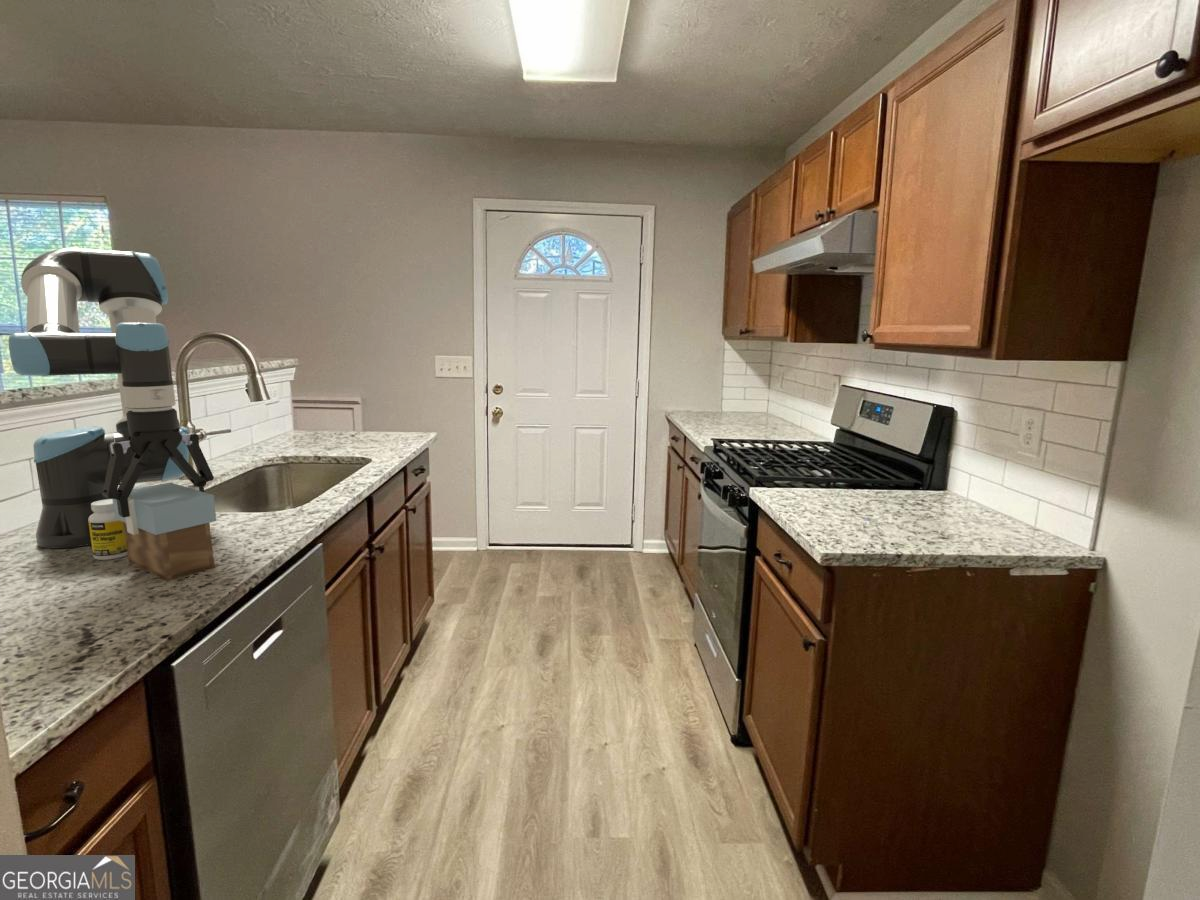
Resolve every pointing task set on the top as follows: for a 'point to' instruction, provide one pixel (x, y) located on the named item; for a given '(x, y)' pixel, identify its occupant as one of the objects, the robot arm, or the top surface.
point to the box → (171, 551)
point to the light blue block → (170, 508)
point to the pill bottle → (106, 532)
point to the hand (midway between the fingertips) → (166, 525)
